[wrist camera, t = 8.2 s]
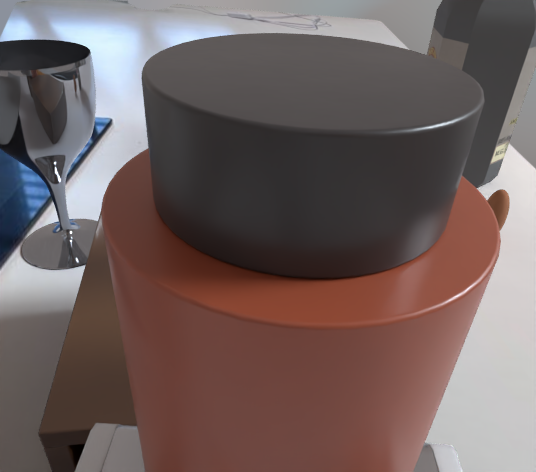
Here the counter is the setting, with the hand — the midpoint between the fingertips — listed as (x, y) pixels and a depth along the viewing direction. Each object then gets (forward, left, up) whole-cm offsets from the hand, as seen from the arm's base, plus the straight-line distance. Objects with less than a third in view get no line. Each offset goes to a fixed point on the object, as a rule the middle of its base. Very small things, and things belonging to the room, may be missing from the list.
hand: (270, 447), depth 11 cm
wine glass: (-12, +28, -14) cm, 34 cm away
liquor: (+27, +40, -14) cm, 50 cm away
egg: (+24, +26, -14) cm, 38 cm away
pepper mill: (0, -1, -11) cm, 11 cm away
